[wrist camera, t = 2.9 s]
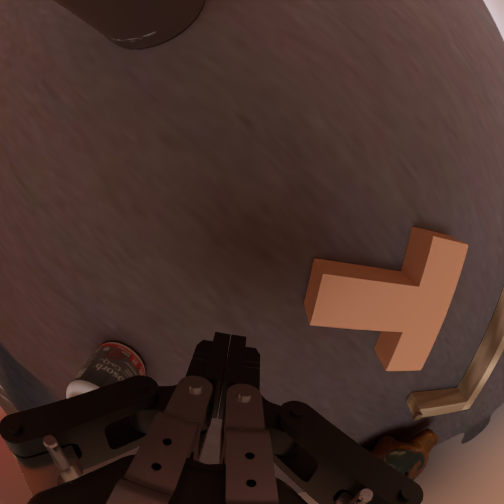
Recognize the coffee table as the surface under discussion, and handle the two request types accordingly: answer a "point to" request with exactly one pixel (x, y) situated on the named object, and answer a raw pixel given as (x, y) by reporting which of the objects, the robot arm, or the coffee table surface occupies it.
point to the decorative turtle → (406, 452)
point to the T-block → (391, 297)
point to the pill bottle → (106, 368)
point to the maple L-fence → (455, 399)
